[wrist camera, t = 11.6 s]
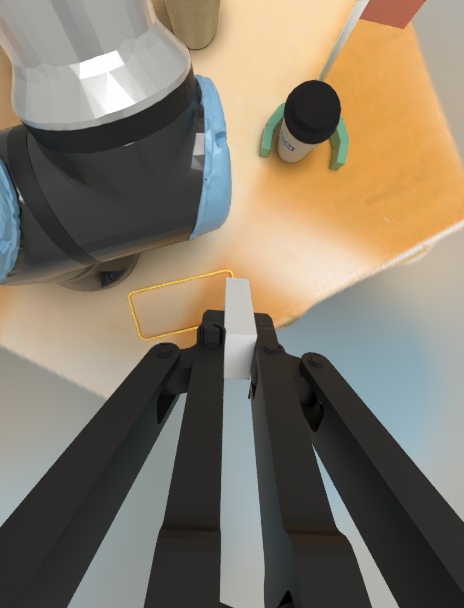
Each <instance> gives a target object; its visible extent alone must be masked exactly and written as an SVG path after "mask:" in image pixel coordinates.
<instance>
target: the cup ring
mask: <svg viewBox="0 0 464 608" xmlns="http://www.w3.org/2000/svg"><path fill="white" fill-rule="evenodd" d="M284 107H285V103H283V104H281V106H279V107H278V109H277V110H276V111H275V113H274V114H273V115H272V117H271V118H270V119H269V121H268V122H267V123H266V125H265V128H264V131H263V134H262V140H261V147H260V154H259V156H261V157H267V156H268V154H269V152H270V148H271V142H272V135H273V133H274V131H275V130H276V129H277V127H278V126H279V125H280V123H282V121H283V117H284ZM340 118H341V115H340ZM348 140H349V138H348V135H347V132H346V128H345V125H344V122H343V118H341V119H340V120H339V124H338V126H337V128H336V131H335V132H334V133H333V134H332V135H331V137H330V142H331V145H332V148H333V152H332V157H331V163H330V168H329V169H332V170H338V169H339V168H340V167H341V166H343V165H344V164H345V160H346V154H347V149H348V144H349V141H348Z"/></svg>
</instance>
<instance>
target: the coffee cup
mask: <svg viewBox="0 0 464 608" xmlns="http://www.w3.org/2000/svg"><path fill="white" fill-rule="evenodd" d="M340 113H341V106H340V100H339V98H338V96H337V94H336V92H335V91H334V89H333V88H332V87H331V86H330V85H328V84H326V83H325V82H323V81H318V80H311V81H306V82H304V83H302V84H300V85H299V86H297V87H296V88H294V90H293V91H292V92H291V93H290V94H289V96H288V98H287V100H286V103H285V107H284V117H283V121H282V126H281V130H280V134H279V138H278V143H277V152H278V154H279V156H280V158H281V159H282V160H283V161H285V162H287V163H296V162H298V161H300V160H301V159H302V158H303V157H305V156H306V155H307V154H308V153H309V152H311V151H312V150H313V149H314V148H315V147H317V146H318V145H319V144H320V143H322V142H324V141H325V140H327V139H329V138H330V137H331V135H332V134H333V133H334V132H335V131H336V128H337V126H338V124H339V120H340Z"/></svg>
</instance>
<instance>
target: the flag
mask: <svg viewBox="0 0 464 608" xmlns="http://www.w3.org/2000/svg"><path fill="white" fill-rule="evenodd" d="M425 1H426V0H357V1H356V3H355V5H354V7H353V9H352V11H351V13H350V15H349V17H348V19H347V21H346V23H345V25H344V26H343V28H342V30H341V32H340V34H339V36H338V38H337V40H336V42H335V44H334V46H333V48H332V50H331V51H330V53H329V55H328V57H327V59H326V61H325V63H324V65H323V67H322V69H321V71H320V73H319V74H318V76H317V78H316V80H318V81H324V79H325V78H326V76H327V74H328V72H329V71H330V69H331V67H332V65H333V63H334V62H335V60H336V58H337V56H338V55H339V53H340V51H341V49H342V48H343V46H344V44H345V42H346V40H347V39H348V37H349V35H350V33H351V32H352V30H353V28H354V26H355V25H356V23H357V21H358V19H363V20H367V21H372V22H376V23H380V24H384V25H389V26H393V27H397V28H402V29H404V28H405V27H406V25H407V24H408V23H409V21H410V20H411V19H412V18H413V16H414V15H415V14H416V12H417V11H418V10H419V8H420V7H421V6H422V5H423V3H424V2H425Z"/></svg>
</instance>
